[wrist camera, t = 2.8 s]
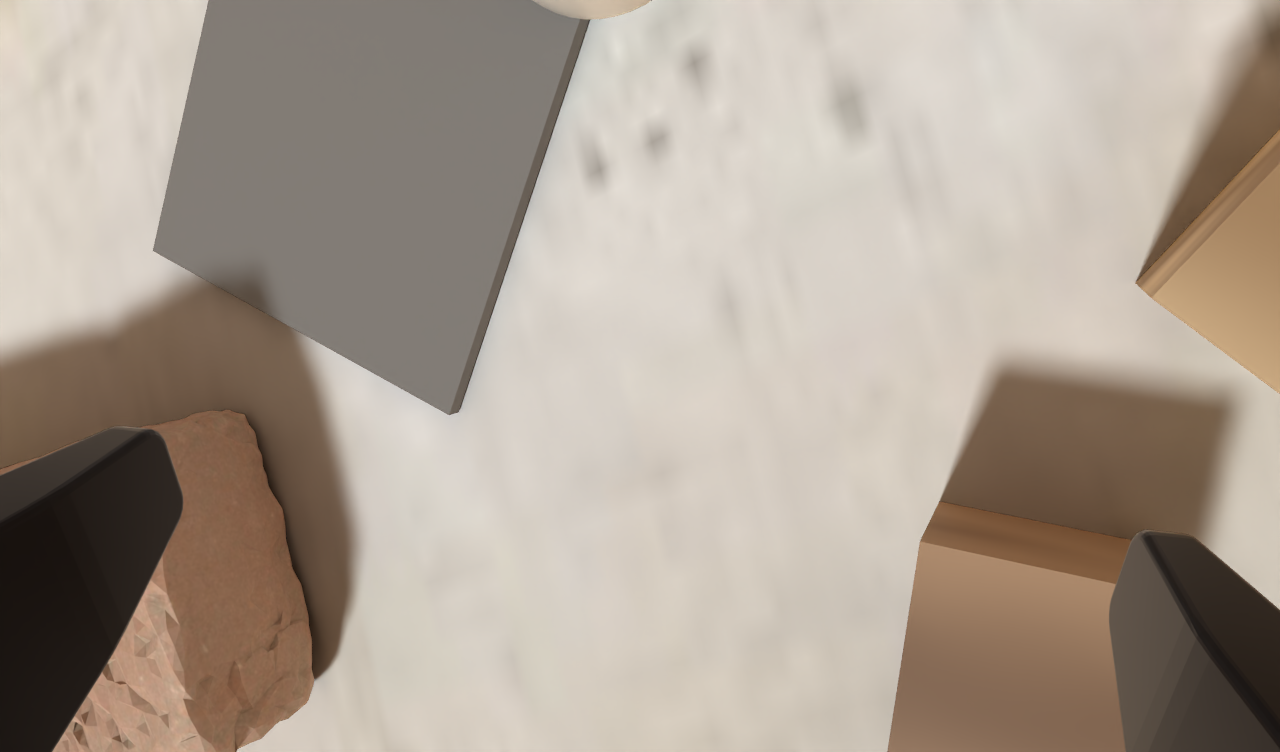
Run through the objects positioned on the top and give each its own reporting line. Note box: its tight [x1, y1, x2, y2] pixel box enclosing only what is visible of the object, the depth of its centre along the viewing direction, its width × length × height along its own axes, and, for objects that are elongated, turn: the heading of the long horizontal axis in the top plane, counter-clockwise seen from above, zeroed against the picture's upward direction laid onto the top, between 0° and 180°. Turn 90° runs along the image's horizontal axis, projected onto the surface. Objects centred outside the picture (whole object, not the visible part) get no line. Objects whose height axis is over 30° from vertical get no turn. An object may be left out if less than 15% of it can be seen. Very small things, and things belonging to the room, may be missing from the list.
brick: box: [0, 409, 314, 752], centre depth 28 cm, size 16×8×5 cm, turn 107°
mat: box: [153, 0, 589, 415], centre depth 24 cm, size 10×10×1 cm
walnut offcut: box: [887, 501, 1131, 752], centre depth 18 cm, size 6×4×3 cm, turn 175°
